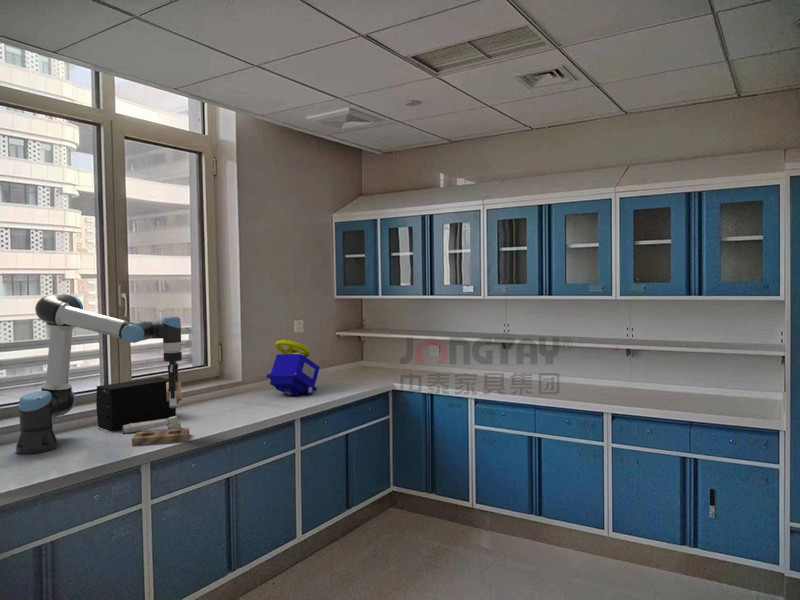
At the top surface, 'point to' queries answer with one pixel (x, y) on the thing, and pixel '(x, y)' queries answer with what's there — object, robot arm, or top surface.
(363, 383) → the top surface
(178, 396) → the oak peg
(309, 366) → the control box
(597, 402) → the top surface
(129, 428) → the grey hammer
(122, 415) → the uninterruptible power supply
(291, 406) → the top surface
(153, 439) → the walnut board
